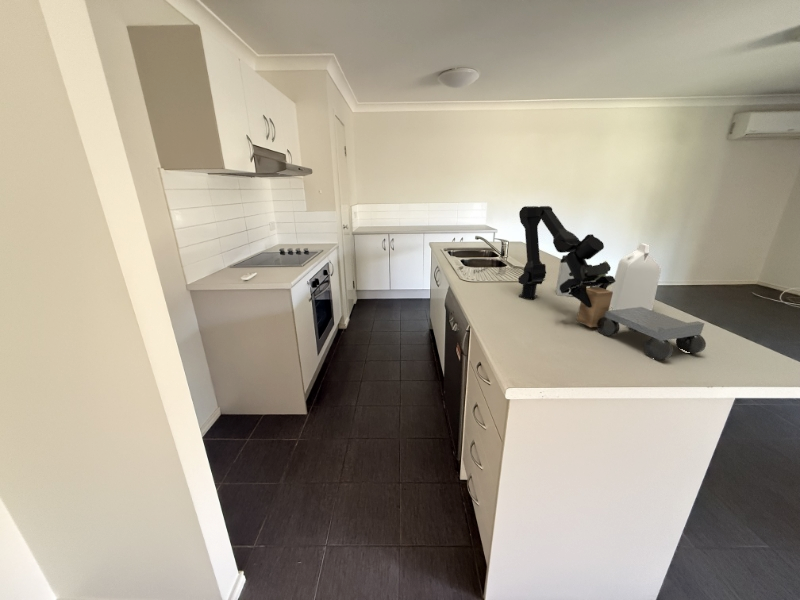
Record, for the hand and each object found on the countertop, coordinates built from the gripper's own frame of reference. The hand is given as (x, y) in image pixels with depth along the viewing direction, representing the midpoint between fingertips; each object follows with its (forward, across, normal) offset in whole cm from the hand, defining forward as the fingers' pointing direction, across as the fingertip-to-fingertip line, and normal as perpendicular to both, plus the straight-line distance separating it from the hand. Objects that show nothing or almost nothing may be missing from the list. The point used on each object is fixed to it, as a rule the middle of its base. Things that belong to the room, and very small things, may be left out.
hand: (597, 306), depth 106 cm
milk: (-2, +29, +14) cm, 32 cm away
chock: (+4, 0, +6) cm, 7 cm away
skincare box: (-18, +19, +30) cm, 40 cm away
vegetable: (-4, +14, +16) cm, 21 cm away
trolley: (+15, +6, -4) cm, 17 cm away
